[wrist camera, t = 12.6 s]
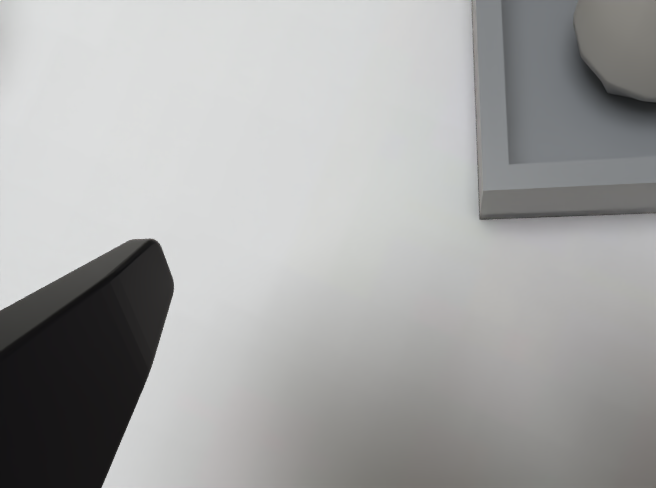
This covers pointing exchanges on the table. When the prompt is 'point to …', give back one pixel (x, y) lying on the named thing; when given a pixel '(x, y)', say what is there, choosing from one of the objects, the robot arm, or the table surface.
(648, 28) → the salt shaker
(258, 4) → the table surface
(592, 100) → the box
